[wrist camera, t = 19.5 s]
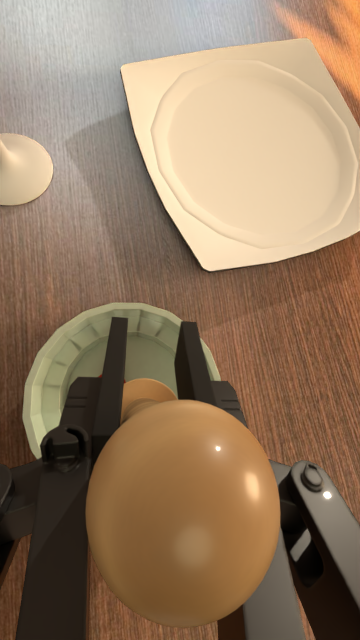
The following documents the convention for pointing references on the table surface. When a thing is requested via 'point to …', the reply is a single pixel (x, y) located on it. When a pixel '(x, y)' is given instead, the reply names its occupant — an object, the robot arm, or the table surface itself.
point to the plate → (248, 150)
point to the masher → (181, 509)
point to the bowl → (99, 359)
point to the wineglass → (22, 169)
